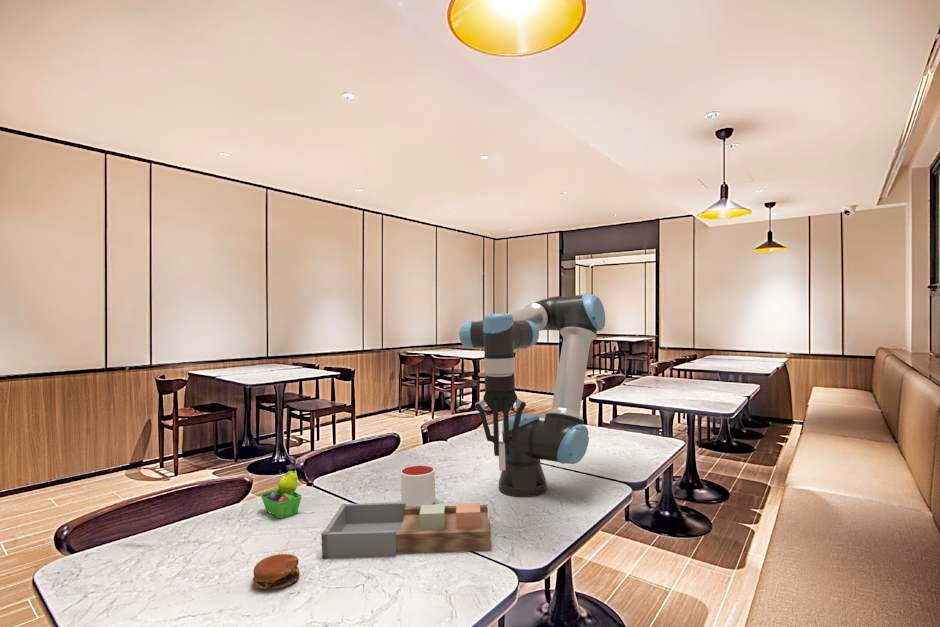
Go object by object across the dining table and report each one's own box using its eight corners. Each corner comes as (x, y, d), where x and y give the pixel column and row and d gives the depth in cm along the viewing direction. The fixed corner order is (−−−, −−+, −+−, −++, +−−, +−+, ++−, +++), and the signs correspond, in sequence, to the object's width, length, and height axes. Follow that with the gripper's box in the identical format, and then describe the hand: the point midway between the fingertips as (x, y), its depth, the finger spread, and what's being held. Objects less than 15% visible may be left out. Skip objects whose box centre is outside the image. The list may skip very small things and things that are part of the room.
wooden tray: (487, 521, 136) (487, 504, 136) (490, 550, 119) (489, 531, 120) (405, 524, 136) (405, 507, 136) (396, 553, 119) (396, 534, 119)
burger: (248, 578, 110) (248, 557, 110) (292, 565, 116) (291, 545, 116) (259, 599, 102) (258, 575, 102) (305, 584, 108) (305, 562, 108)
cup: (430, 511, 145) (429, 476, 145) (396, 509, 147) (395, 475, 147) (439, 498, 155) (438, 465, 155) (407, 497, 157) (406, 464, 157)
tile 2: (480, 518, 131) (479, 503, 131) (480, 528, 125) (480, 512, 125) (457, 519, 131) (456, 503, 131) (456, 529, 125) (456, 512, 125)
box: (406, 522, 138) (405, 502, 138) (396, 555, 118) (395, 532, 118) (342, 524, 138) (342, 504, 138) (322, 558, 118) (321, 534, 118)
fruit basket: (259, 512, 149) (258, 473, 149) (288, 503, 155) (287, 466, 155) (278, 522, 141) (277, 481, 141) (307, 512, 147) (306, 473, 147)
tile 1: (445, 519, 131) (444, 504, 131) (444, 529, 125) (443, 513, 125) (422, 520, 131) (421, 504, 131) (419, 530, 125) (419, 514, 125)
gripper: (523, 372, 132) (526, 463, 132) (473, 373, 132) (476, 465, 132) (527, 375, 124) (529, 472, 124) (473, 377, 124) (476, 473, 124)
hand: (502, 468), depth 128 cm, fingers closed
